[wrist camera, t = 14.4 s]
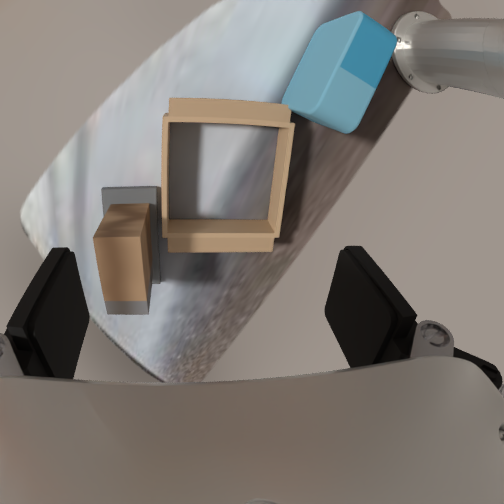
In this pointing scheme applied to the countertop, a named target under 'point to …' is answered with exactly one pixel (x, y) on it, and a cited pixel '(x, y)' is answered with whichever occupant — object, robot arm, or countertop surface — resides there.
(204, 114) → the carton
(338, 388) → the robot arm
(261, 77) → the countertop surface
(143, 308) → the walnut box
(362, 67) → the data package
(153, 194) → the mat
